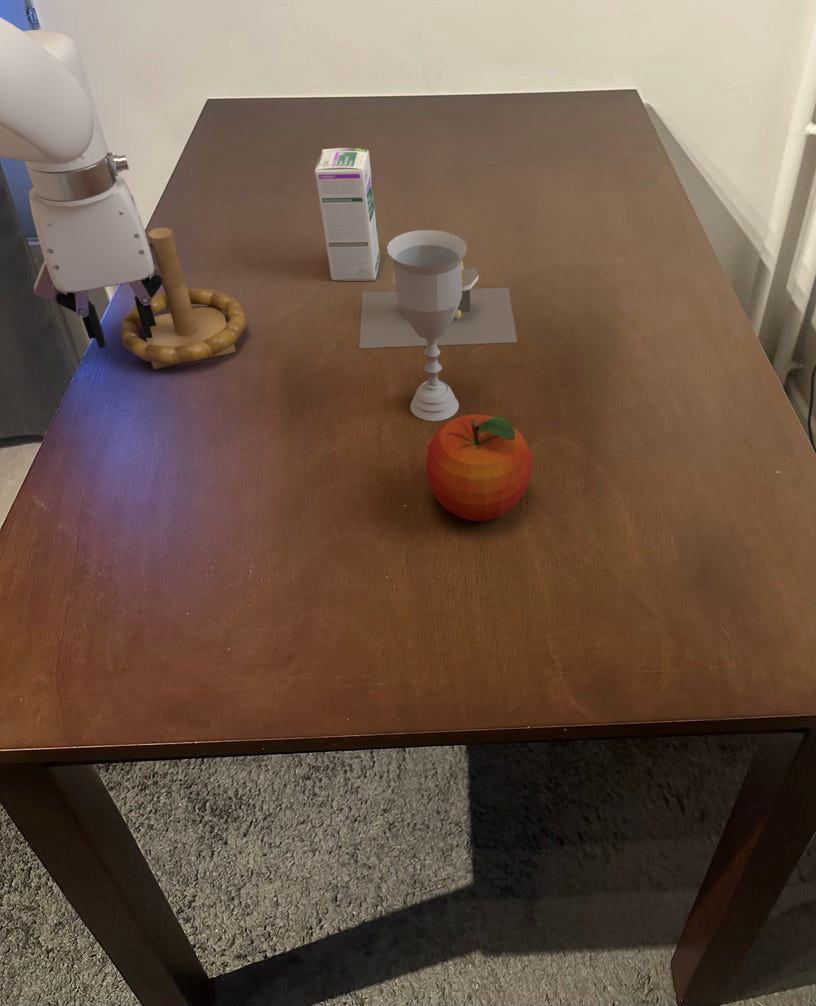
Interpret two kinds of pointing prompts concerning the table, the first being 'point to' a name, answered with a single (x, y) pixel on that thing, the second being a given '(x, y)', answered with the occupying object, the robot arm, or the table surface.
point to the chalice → (429, 305)
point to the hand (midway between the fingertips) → (124, 335)
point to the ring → (191, 350)
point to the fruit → (478, 466)
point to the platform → (474, 323)
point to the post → (180, 303)
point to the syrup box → (348, 213)
